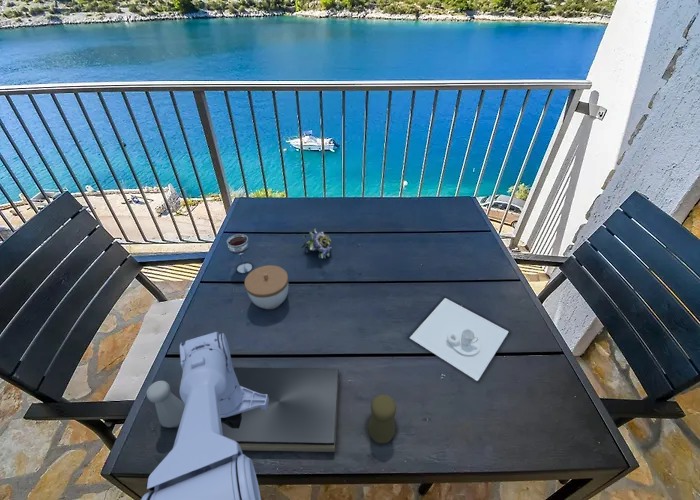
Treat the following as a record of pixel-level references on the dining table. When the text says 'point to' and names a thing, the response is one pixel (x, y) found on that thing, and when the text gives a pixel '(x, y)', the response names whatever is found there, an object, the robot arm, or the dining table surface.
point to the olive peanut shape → (382, 419)
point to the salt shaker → (166, 404)
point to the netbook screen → (288, 406)
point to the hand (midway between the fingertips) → (237, 423)
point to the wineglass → (239, 250)
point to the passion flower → (319, 244)
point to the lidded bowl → (267, 286)
